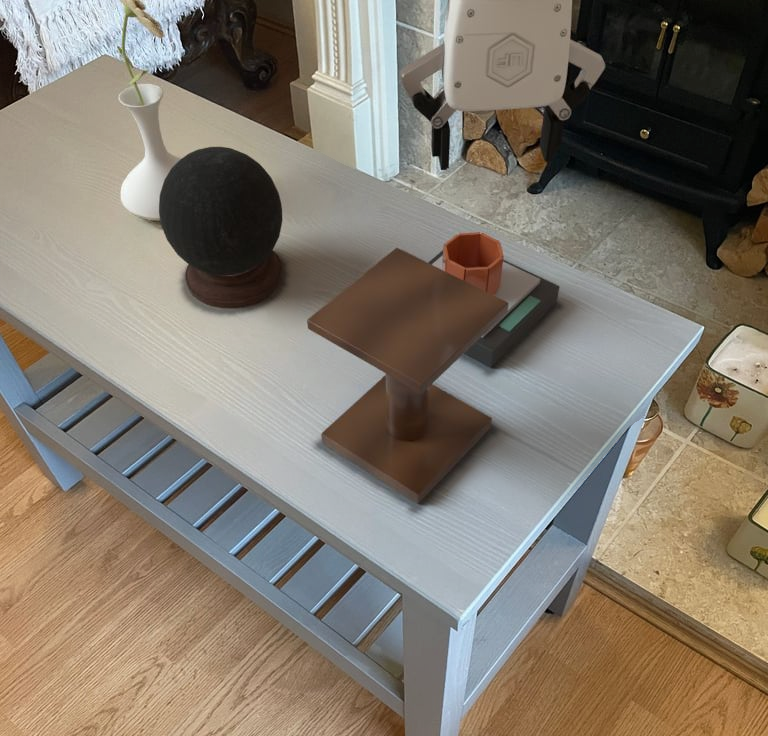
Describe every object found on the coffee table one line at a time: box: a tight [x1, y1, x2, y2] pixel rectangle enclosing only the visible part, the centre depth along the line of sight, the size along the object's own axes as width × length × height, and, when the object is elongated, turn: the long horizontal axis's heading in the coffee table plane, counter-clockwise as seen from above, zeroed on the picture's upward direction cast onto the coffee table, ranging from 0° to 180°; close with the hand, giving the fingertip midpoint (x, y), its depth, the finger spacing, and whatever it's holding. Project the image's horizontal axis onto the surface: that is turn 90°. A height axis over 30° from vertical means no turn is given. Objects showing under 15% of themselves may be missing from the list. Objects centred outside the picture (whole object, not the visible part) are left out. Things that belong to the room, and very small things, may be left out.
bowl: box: [442, 231, 505, 295], centre depth 86 cm, size 6×6×4 cm
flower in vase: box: [116, 0, 183, 222], centre depth 93 cm, size 13×11×25 cm
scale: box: [427, 249, 561, 369], centre depth 89 cm, size 14×13×3 cm
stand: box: [306, 247, 509, 505], centre depth 73 cm, size 12×12×16 cm
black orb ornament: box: [159, 146, 283, 309], centre depth 88 cm, size 13×13×15 cm
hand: (494, 158), depth 75 cm, fingers open, 9 cm apart
